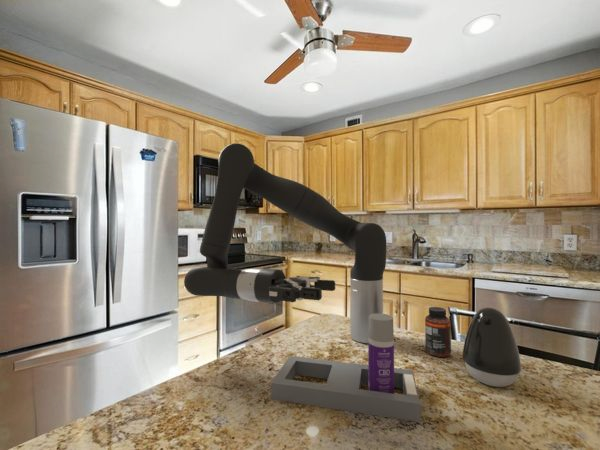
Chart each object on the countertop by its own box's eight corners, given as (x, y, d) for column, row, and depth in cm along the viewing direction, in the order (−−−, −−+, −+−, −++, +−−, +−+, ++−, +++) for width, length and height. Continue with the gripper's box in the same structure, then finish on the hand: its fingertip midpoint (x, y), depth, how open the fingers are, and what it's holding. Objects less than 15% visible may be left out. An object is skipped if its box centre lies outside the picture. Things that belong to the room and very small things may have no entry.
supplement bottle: (445, 348, 79) (445, 305, 79) (455, 358, 73) (454, 312, 73) (422, 348, 79) (422, 305, 79) (429, 357, 73) (429, 311, 73)
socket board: (289, 369, 67) (289, 355, 67) (412, 384, 61) (412, 369, 61) (270, 398, 56) (270, 381, 56) (420, 422, 49) (420, 402, 49)
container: (380, 406, 53) (380, 322, 53) (363, 393, 58) (363, 315, 58) (399, 399, 56) (399, 318, 56) (381, 387, 60) (381, 312, 60)
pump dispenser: (456, 381, 62) (456, 308, 62) (469, 364, 70) (469, 299, 70) (516, 401, 55) (516, 318, 55) (524, 379, 63) (523, 307, 63)
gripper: (242, 273, 62) (315, 277, 55) (276, 264, 75) (338, 266, 68) (243, 309, 62) (316, 318, 55) (277, 294, 75) (339, 299, 68)
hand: (328, 289), depth 62 cm, fingers open, 8 cm apart
